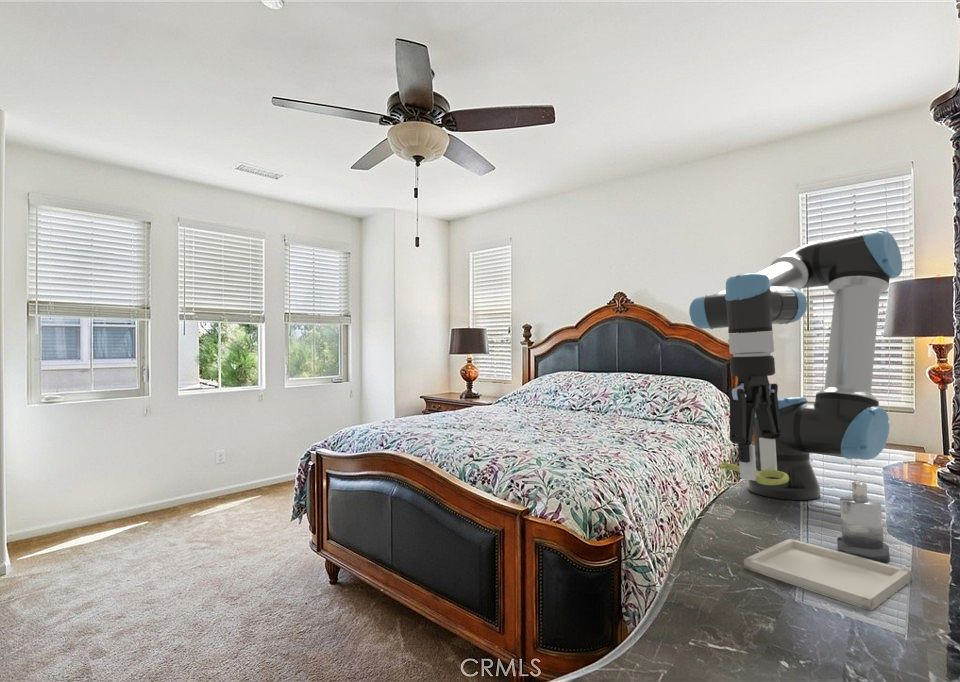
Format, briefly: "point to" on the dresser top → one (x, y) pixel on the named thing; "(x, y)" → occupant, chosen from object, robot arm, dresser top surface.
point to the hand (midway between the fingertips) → (759, 475)
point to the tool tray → (830, 572)
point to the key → (761, 474)
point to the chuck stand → (862, 526)
